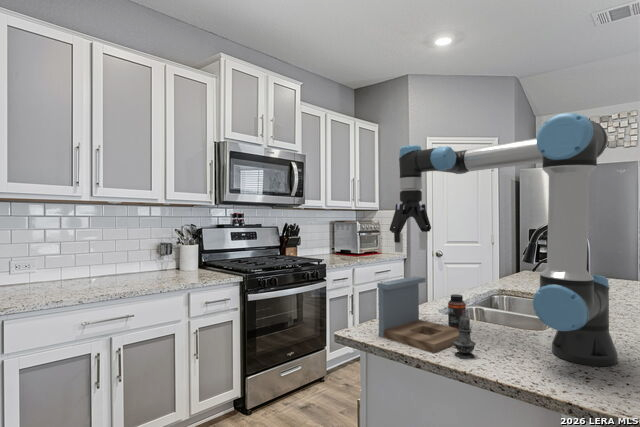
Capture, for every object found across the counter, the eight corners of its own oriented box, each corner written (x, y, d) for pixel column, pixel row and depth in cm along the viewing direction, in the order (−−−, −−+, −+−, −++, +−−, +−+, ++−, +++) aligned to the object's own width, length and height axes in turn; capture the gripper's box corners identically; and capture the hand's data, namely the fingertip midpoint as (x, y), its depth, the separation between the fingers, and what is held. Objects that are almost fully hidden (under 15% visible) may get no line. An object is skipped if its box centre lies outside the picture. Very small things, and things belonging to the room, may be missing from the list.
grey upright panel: (425, 327, 137) (425, 277, 137) (388, 339, 124) (387, 284, 124) (415, 324, 140) (414, 276, 140) (377, 336, 127) (377, 283, 127)
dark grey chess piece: (477, 359, 106) (477, 316, 106) (455, 358, 107) (454, 315, 107) (473, 352, 112) (473, 310, 112) (452, 351, 113) (451, 309, 113)
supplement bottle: (466, 326, 138) (466, 294, 138) (465, 330, 133) (465, 297, 133) (449, 324, 141) (449, 293, 141) (447, 328, 135) (446, 296, 135)
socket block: (469, 339, 124) (468, 331, 124) (434, 353, 112) (434, 344, 112) (419, 326, 138) (419, 319, 138) (383, 337, 126) (383, 329, 126)
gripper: (423, 192, 147) (423, 248, 147) (378, 189, 131) (379, 252, 131) (440, 190, 141) (441, 249, 141) (396, 188, 125) (396, 254, 125)
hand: (411, 251), depth 136 cm, fingers open, 13 cm apart
